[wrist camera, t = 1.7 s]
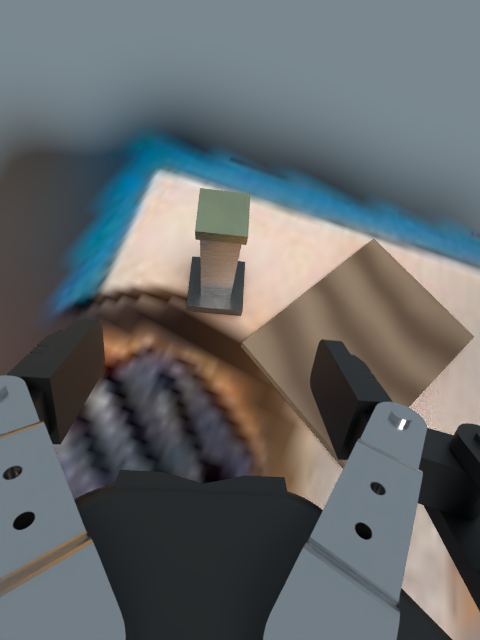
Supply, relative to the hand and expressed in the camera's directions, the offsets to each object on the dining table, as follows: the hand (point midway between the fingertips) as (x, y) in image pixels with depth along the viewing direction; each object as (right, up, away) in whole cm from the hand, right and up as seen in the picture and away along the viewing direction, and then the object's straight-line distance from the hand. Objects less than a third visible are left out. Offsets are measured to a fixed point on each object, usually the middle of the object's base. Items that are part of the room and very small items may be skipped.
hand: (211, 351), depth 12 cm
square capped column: (-2, +4, +23) cm, 23 cm away
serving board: (+14, -1, +22) cm, 26 cm away
